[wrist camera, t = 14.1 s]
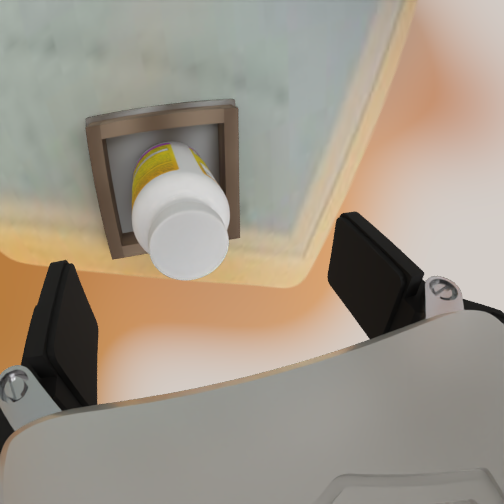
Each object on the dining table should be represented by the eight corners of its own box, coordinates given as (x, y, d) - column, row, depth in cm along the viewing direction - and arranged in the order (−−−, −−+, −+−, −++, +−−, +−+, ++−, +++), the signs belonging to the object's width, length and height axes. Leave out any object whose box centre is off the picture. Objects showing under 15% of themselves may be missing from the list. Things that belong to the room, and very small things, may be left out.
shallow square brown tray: (232, 98, 27) (243, 103, 24) (234, 224, 34) (244, 240, 32) (87, 117, 24) (80, 124, 21) (111, 244, 31) (109, 263, 28)
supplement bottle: (125, 199, 28) (120, 285, 18) (144, 131, 25) (146, 180, 15) (191, 214, 31) (222, 299, 21) (215, 151, 28) (262, 209, 18)
